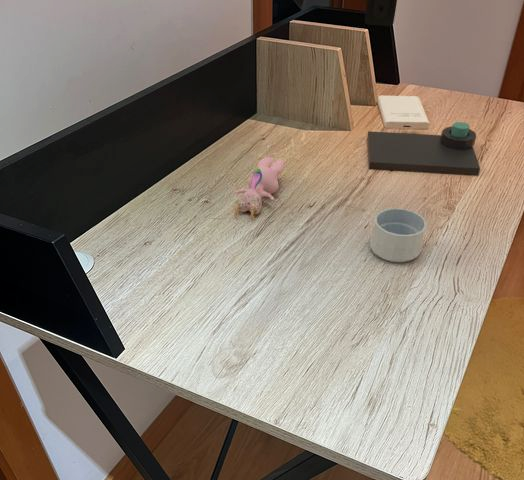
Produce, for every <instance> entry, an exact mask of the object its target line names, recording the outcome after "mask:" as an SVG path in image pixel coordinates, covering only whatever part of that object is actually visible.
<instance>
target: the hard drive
mask: <svg viewBox="0 0 524 480" xmlns="http://www.w3.org/2000/svg"><path fill="white" fill-rule="evenodd" d="M377 105H378V109H379V112H380V116H381V119H382V122H383V126H384V129H387V130H429V128H430V120H429V118H428V116H427V113H426V111H425V109H424V107H423V103H422V102H421V99H420V97H419V96H417V95H382V94H381V95H378V97H377Z"/></svg>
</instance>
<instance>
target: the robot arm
mask: <svg viewBox="0 0 524 480" xmlns="http://www.w3.org/2000/svg"><path fill="white" fill-rule="evenodd" d="M397 3H398V0H366V5H365V6H366V7H365V14H364V23H365V24H366V25H368V26H383V27H385V26H386V27H392V26H393V25H394V22H395V16H396V10H397Z"/></svg>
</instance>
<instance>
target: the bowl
mask: <svg viewBox="0 0 524 480" xmlns="http://www.w3.org/2000/svg"><path fill="white" fill-rule="evenodd" d="M427 228H428V223H427V219H425V218H424V216H423V215H422V214H420V213H418V212H416V211H414V210H412V209H407V208H401V207H391V208H385V209H382V210H380V211H378V212H376V214H375V216H374V217H373V224H372V229H371V235H370V240H369V246H370V249H371V251H372V252H373V253H374V254H375V255H376V256H377V257H379V258H380V259H383V260H385V261H387V262H391V263H405V262H410V261H412V260H414V259H416V258H418V257H419V255H420V254H421V252H422V248H423V245H424V240H425V238H426V237H425V236H426V233H427Z"/></svg>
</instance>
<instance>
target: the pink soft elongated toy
mask: <svg viewBox="0 0 524 480" xmlns="http://www.w3.org/2000/svg"><path fill="white" fill-rule="evenodd" d="M274 159H275V157H272V156H264V157H263V158H261V159H260V160H259V162H258V163H257V165H256V168H255V169H254V171H253V173H252V174H251V176H250V177H248V179H247V181H246V185H247V186H248V188H241V189H237V190H235V194H236V195H239V194H241V196H240V198H239V199H238V203H237V205H236V207H235V210H234V213H233V216H235V218H236V219H237V218H238V217H239V218H240V214H239V212H241V213H247V212H249V213H250V215H249V217H248V219H251V220H252V222H253V221H255V216H254V215H258V214H260V212H261V210H262V207H263V202H262V199H263V198H269V200H270V201H271V202H274V201H275V197H274V196H273V195H272V194H274V193H276V192H277V191H278V189H279V187H280V186H279V181H278V177H279V176H280V175H281V174H282V173H283V170H284V167H285V160H284V159H282V158H280V159H277V160H275V161H274ZM273 161H274V162H273Z"/></svg>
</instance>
